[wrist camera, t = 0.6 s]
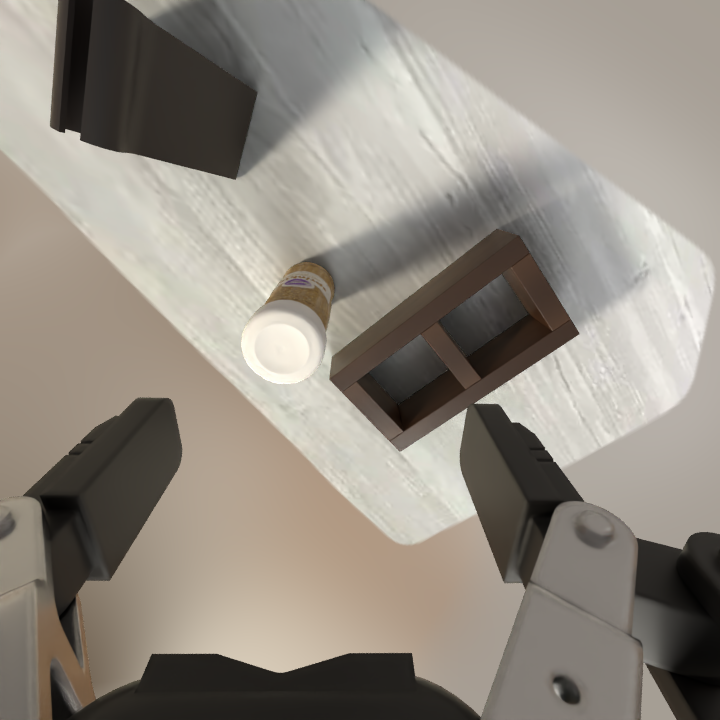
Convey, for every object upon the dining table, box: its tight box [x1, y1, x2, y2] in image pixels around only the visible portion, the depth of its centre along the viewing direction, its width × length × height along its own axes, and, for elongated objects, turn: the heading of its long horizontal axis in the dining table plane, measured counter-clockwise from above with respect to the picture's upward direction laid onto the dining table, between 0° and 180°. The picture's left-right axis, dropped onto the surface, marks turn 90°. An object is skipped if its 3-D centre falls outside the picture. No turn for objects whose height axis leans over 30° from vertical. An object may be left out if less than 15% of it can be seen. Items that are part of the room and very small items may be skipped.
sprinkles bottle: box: [241, 262, 335, 384], centre depth 27 cm, size 5×5×14 cm
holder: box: [330, 229, 579, 451], centre depth 33 cm, size 10×18×4 cm, turn 129°
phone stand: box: [50, 0, 257, 180], centre depth 22 cm, size 9×6×12 cm, turn 67°
